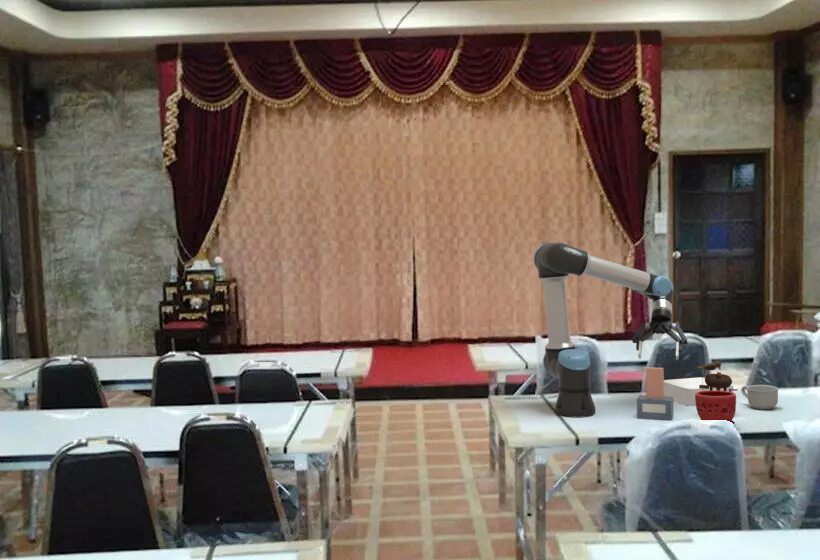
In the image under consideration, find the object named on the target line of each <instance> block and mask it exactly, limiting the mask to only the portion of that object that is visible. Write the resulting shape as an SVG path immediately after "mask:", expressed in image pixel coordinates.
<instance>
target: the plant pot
mask: <svg viewBox="0 0 820 560" xmlns="http://www.w3.org/2000/svg"><path fill="white" fill-rule="evenodd" d="M695 402H696V406H695V407H696V412H697V415H698V417H699V420H727V421H730V422H732V423H733V424H734V426H735V425H736V422H735V421H734V417H735V414H736V409H737V408H736V405H737V394H736V393H735V392H734V391H733V392H728V391H700V392H696V393H695ZM702 404H703V406H702ZM715 404H717V405H715ZM706 406H707V407H706Z"/></svg>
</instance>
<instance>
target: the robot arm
mask: <svg viewBox="0 0 820 560" xmlns="http://www.w3.org/2000/svg"><path fill="white" fill-rule="evenodd" d="M533 262H534V265H535V268H537V271H538V273H537V274H538V279H539V280H540V281H541V282H542V283H543V296H544V307H545V318H546V328H547V330H546V331H547V339H548V342H547V344H546V345H544V346H545V347H544V348H545V349H544V351H545V353H544V356H543V359H542V360H543V361H542V364H543V368H544V371H546V373H547V374H548V375H549V376H551V378H554V379H556V380H558V395H557V399H556V402H555V405H554V414H556V413H557V414H556V415H558V414H560V415H559V416H561V415H565V416H564V417H568V416H586V417H590V416H589V415H592V416H593V414H594V415H596V406H595V402H594V400H593V397H592V394H591V358H590V357H591V356H590V354H589V353H588V352H587V351H584V350H580V349H576V344H575V343H574V342H573V341H572V340H571V330H570V318H569V310H568V309H569V308H568V298H567V287H566V286H567V285H566V280H567V279H568V277H569V275H575V276H578V277H581V276H588V277H591V278H595V279H597V280H602V281H606V282H607V283H611V284H612V283H613V284H615V285H619V286H622V287H625V288H629V289H630V290H632V291H634V292H636V293H638V294H640V295H642V296H644V297H646V298H648V299H649V300H651V301H652V309H651V317H650V322H646V321H645V320H644V321H643V320H642V323H641V326H640V327H639V328H638V330H637V331H636V332H635V333H634V335H633V336H632V338H631V340H632V343H633V344H636V346H635V347H636V348H635V349H636V351H638V352H637V353H638V354H637V355H638V359H640V360H641V359H642V349H643V343H644V342H645V341H646V340H647V339H649V338H650V337H651V336H653V335H654V334H656V335H660V334H661V335H665V334H666V335H668V337H670V338H671V339H672V340H673V341H674V342H676V345H675V346H676V347H675V360H676V361H679V356H680V353H682V352H683V345H688V344H689V343H688V337H686V335H685V333H684V332H683V330H682V328H681V327H680V326H681V325H680V321H675V323H673V322H672V318H673V317H672V316H673V300H674V294H675V293H674V291H675V290H674V284H673V283H672V281H671V280H670V279H669V278H668V277H666V276H663V275H657V274H653V273H649V272H646V271H643V270H640V269H636V268H633V267H629V266H626V265H624V264H619V263H616V262H613V261H610V260H606V259H603V258H599V257H596V256H593V255H590V254H589V252H588V251H587V250H582V249H580V248H577V247H575V246H572V245H570V244H566V243H563V242H547V243H544V244H542V245H540V246H538V248H536V250H535V252H534V255H533ZM672 328H673V329H674V330H676V332H677V333H678V335H677V334H676V333H675V332H674V331H673V330H672ZM647 329H648V330H647Z"/></svg>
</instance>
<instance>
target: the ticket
mask: <svg viewBox="0 0 820 560" xmlns="http://www.w3.org/2000/svg"><path fill="white" fill-rule="evenodd" d="M664 370H665V369H664V367H647V366H646V367H645V382H646V383H645V385H646V386H645V389H646V391H645V395H646V397H649V398H664V380H665V376H664V372H665V371H664Z"/></svg>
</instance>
